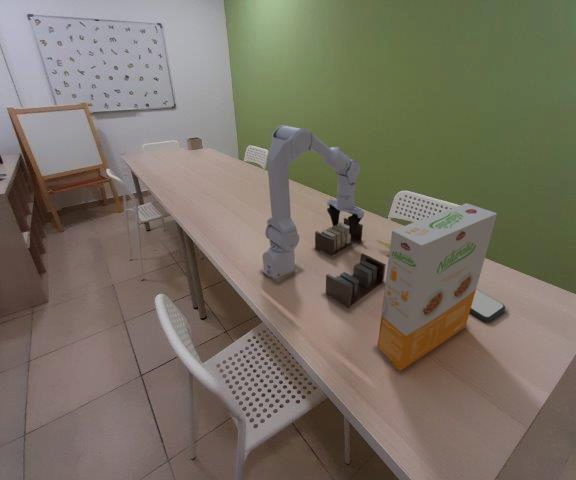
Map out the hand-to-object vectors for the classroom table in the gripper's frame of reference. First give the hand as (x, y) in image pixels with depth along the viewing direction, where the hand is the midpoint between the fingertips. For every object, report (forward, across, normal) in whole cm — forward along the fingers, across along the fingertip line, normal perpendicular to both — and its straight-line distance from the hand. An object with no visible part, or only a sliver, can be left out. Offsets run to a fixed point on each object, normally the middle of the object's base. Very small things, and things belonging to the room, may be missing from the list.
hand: (343, 229), depth 106 cm
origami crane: (+6, -19, -7) cm, 21 cm away
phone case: (+6, -41, -2) cm, 41 cm away
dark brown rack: (+6, 0, +2) cm, 6 cm away
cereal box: (+6, -40, +19) cm, 45 cm away
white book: (+5, 0, 0) cm, 5 cm away
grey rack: (+6, -19, +17) cm, 26 cm away
